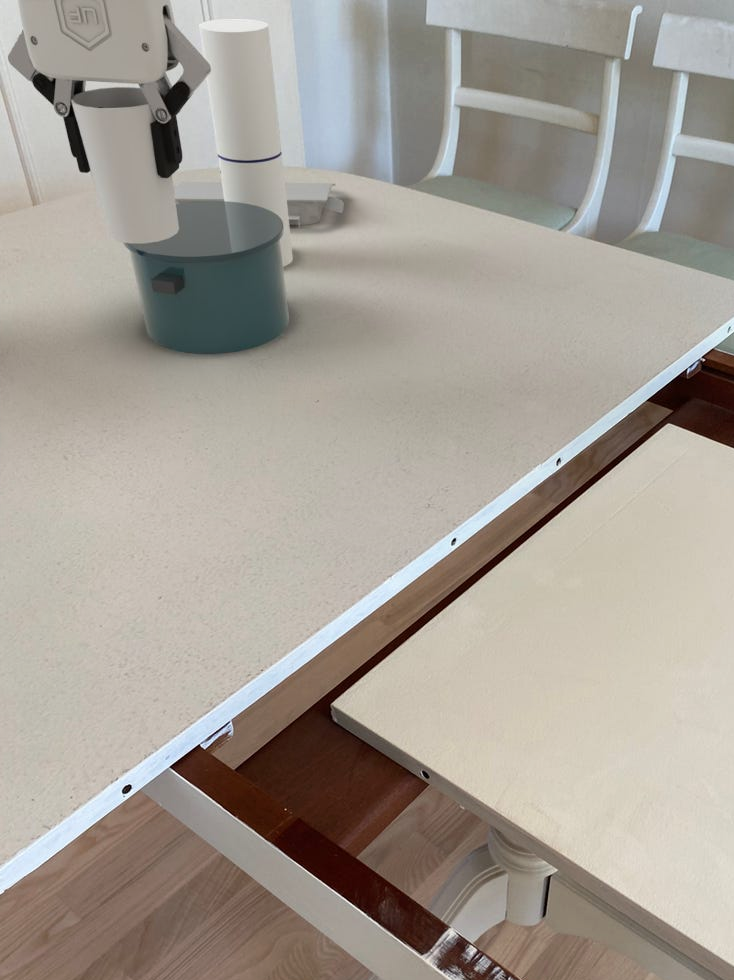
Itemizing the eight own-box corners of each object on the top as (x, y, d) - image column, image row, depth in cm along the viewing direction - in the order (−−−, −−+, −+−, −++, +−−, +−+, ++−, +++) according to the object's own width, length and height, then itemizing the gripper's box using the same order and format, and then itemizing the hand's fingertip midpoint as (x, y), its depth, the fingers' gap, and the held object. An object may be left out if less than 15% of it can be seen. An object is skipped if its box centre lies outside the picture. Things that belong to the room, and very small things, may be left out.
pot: (107, 354, 100) (81, 250, 93) (192, 286, 113) (175, 190, 106) (251, 376, 97) (235, 270, 90) (321, 303, 110) (312, 206, 103)
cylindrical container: (250, 279, 115) (216, 34, 98) (224, 260, 119) (187, 22, 102) (303, 267, 118) (280, 27, 101) (276, 249, 122) (249, 16, 106)
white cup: (144, 251, 78) (115, 113, 71) (84, 234, 80) (51, 99, 74) (201, 227, 82) (179, 95, 75) (143, 212, 85) (117, 82, 78)
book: (338, 235, 126) (335, 204, 124) (158, 234, 125) (152, 202, 123) (345, 196, 138) (343, 167, 135) (181, 195, 137) (175, 165, 134)
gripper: (-77, -115, 64) (5, 178, 76) (180, -102, 63) (221, 192, 75) (-21, -124, 69) (47, 150, 81) (215, -112, 68) (248, 163, 80)
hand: (130, 168), depth 78 cm, fingers closed on white cup, 5 cm apart
